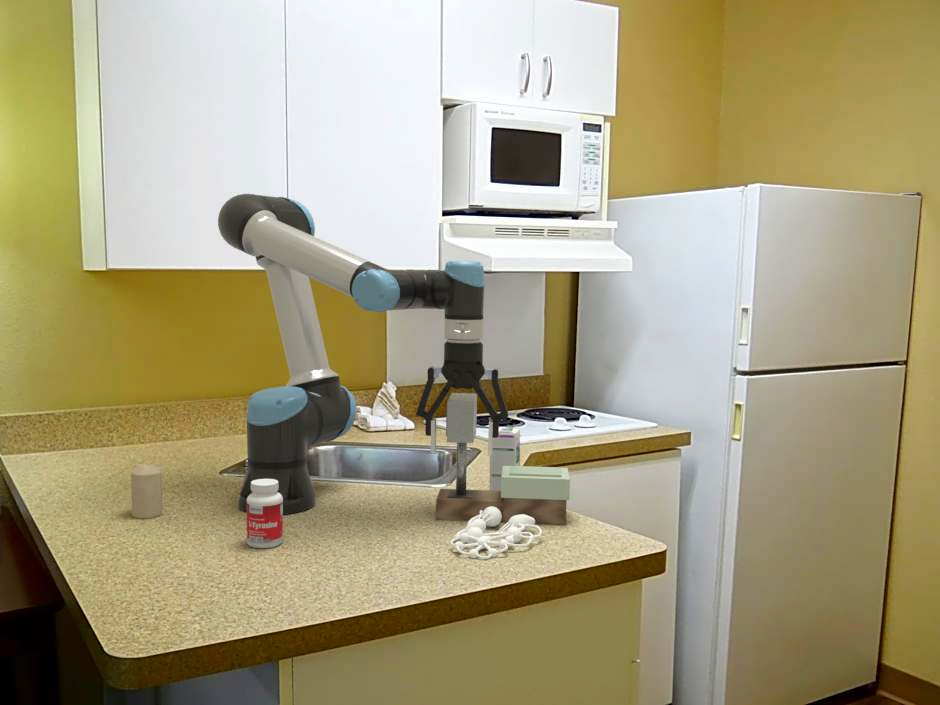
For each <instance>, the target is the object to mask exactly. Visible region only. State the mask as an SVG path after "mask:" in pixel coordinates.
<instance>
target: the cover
mask: <svg viewBox="0 0 940 705" xmlns="http://www.w3.org/2000/svg"><path fill="white" fill-rule="evenodd" d="M568 469H569V468H568V467H560V466H559V467H557V466H555V467H554V466H529V465H527V466H526V465H525V466H524V465H520V466H503V468H502V476H501V498H524V499H552V500H566V501H570V491H571V490H570V487H571V478H570V472H569V470H568Z"/></svg>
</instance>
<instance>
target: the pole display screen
mask: <svg viewBox="0 0 940 705" xmlns="http://www.w3.org/2000/svg"><path fill="white" fill-rule="evenodd" d="M477 405H478V395H477V393H472V392H471V393H468V392H465V393H464V392H462V393H461V392H452V393H451V395H449V397H448V398H447V404H446V412H445V414H446V415H445V416H446V417H445V418H446V419H445V420H446V421H445V423H446V424H445V425H446V426H445V437H446V442H447V443H455V444H456V471H455V472H456V475H455V478H456V480H455V489H456V494H457V495H465V494H466V490H467V471H468V470H467V466H468V464H467V463H468V462H467V461H468V459H467V458H468V444H473V443H474V441H475V439H476V436H477V422H478V421H477V419H478V418H477V416H478V415H477V413H478V412H477V410H478V406H477Z"/></svg>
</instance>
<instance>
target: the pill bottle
mask: <svg viewBox="0 0 940 705" xmlns="http://www.w3.org/2000/svg"><path fill="white" fill-rule="evenodd" d="M278 488H279V485H278V481H277V480H275V479H257V480H253V481H252V482H251V491H252V493H251V494H250V495H249V496H248V497H247V512H246V545H247V546H249V547H250V548H254V549H271V548H275V547H278V546H280V545H281V544H282V543H283V541H284V540H283V539H284V538H283V537H284V536H283V535H284V534H283V533H284V514H283V497H282V495H281V494H280V493H278V492H277V490H278Z"/></svg>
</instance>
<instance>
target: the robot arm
mask: <svg viewBox="0 0 940 705" xmlns="http://www.w3.org/2000/svg"><path fill="white" fill-rule="evenodd" d="M217 226H218V227H217V228H218V231H219V234H220V236H221V237H222V238H223V240H224V242H226V243H227V244H228V245H229V246H230V247H233V248H234V249H236V250H238V251H241V252H243V253H245V254H247V255H249V256H251V257H255V261H256V264H257V265H258V266H259V267H261V268H262V269H264V270H265V272H266V276H267V280H268V285H269V289H270V293H271V299H272V302H273V306H274V312H275V315H276V319H277V323H278V324H277V325H278V328H279V333H280V337H281V342H282V345H283V346H282V347H283V351H284V355H285V359H286V364H287V368H288V372H289V380H288V381H287V383H286V384H285V386H277V387H269V388H265V389H262V390H259V391H256V392H254V393H253V394H251V396H250V397H249V398H248V400H247V407H246V408H247V410H246V411H247V412H246V416H245V418H246V436H247V437H246V439H247V440H246V442H247V443H246V444H247V446H246V448H247V449H246V450H247V470H246V473H245V476H244V479H243V482H242V485H241V488H240V491H239V494H238V506H239V507H238V508H239V509H240V510H241V511H243V512H246V513H247V497H248V496H249V495H250V494H251V493H252V491H251V482H252V481H253V480H257V479H275V480H277V481H278V485H279V488H278V490H277V492H278V493H280V494H281V495H282V497H283V515H288V514H294V513H299V512H303V511H306V510H308V509H311V508H312V507H314V506H315V504H316V491H315V488H314V485H313V482H312V478H311V476H310V473H309V468H308V467H307V466H308V465H307V456H308V455H307V453H308V452H307V449H308V448H307V447H311V446H315V445H319V444H322V443H327V442H332V441H335V440H336V439H338V438H340V437H343V436H344V435H346V434H347V433H348V432H349V431H350V430H351V428H352V426H353V425H354V423H355V421H356V417H357V404H356V399H355V397H354V394H352V393H353V392H351V391H350V390H348V387H345V386H343V385H341V380H340V376H339V373H336V372H335V371H334V370H332V369H331V368H330V365H329V360H328V359H329V358H328V355H327V350H326V348H325V342H324V338H323V332H322V329H321V325H320V321H319V317H318V312H317V307H316V302H315V299H314V294H313V289H312V286H311V285H312V284H311V282H310V279H313V280H314V281H316V282H319V283H321V284H324V285H325V286H327V287H329V288H331V289H334V290H335V291H337V292H340V293H342V294H345V295H346V296H349V297H351V298H353V300H354V302H355V303H356V304H357V306H358V307H359V308H361V309H362V310H364V311H366V312H367V311H368V312H374V313H375V312H376V313H382V312H387V311H399V310H400V311H401V310H415V309H423V310H424V309H425V310H427V309H431V310H435V309H436V310H444V335H443V336H444V339H445V340H446V341H445V343H443V364H442V367H434V366H430V367H429V368H428V369H427V381H426V384H425V386H424V389H423V392H422V395H421V398H420V401H419V403H418V407H417V409H416V412H415V413H416V416H417V417H421V418H423V419H424V420H425V423H424V424H425V427H424V428H425V429H424V430H425V435H426V436H427V437H428V436H429V437H430V454H433V455H434V454H436V452H437V417H436V418H435V417H433V416H434V415H435V414H436V412H437V410H438V408H439V407H440V406H441V404H442V402H443V401H444V400H445V398H446V397H447V395H448V393H449V392H450V390H451V388H452V389H454V390H461V389H464V390H471V389H473V391H474V392H475V394H477V397H478V398H479V400H480V401H481V403H482V405H483V406H484V408H485V411H486V412H487V413H488V415H489V416H490V418H491V419H489V421H488V439H487V440H488V442H487V444H488V446H487V456H490V455H492V453H493V438H497V437H498V435H499V427H500V421H502V420H506V419H508V418H509V411H508V408H507V405H506V401H505V399H504V394H503V392H502V389H501V386H500V382H499V369H498V368H497V367H494V368H485V366H484V363H483V356H484V355H483V354H484V353H483V352H484V344H483V343H482V342H481V341H482V340H483V338H484V301H485V300H484V298H485V296H484V295H485V294H484V293H485V285H486V283H485V273H484V271H485V270H484V269H485V268H484V265H483V264H482V262H480V261H475V260H473V261H472V260H471V261H470V260H469V261H468V260H448V261H447V262H446V263H445V266H444V270H423V269H422V270H421V269H420V270H418V269H417V270H415V269H404V270H403V269H400V270H399V269H387V268H385V267H384V266H380V265H379V264H376V263H373V262H372V261H369V260H367V259H365V258H363V257H360V256H359V255H357V254H354V253H351V252H349V251H348V250H345V249H343V248H340V247H338V246H336V245H334V244H331V243H329V242H327V241H325V240H323V239H320V238H318V237H316V236H315V232H316V230H315V229H316V228H315V227H316V226H315V221H314V218H313V216H312V213H311V212H310V210H309V209H308V208H307V207H306V206H305V205H304V204H302V203H301V202H300V201H297V200H295V199H290V198H288V197H284V196H277V197H276V196H271V195H270V196H267V195H263V194H261V195H260V194H253V193H242V194H237V195H235V196H232V197H230V199H228V200H226V202H225V203H224V204H223V205H222V206H221V208H220V211H219V213H218V217H217ZM440 374H442V376H443V377H444V378H445V380H446V383H445V385H444V387H443V389H441V392H440V393H439V394H438V396H437V397H436V399H435V400H434V402H433V403H432V405H431V407H430V408H429V409H428V410H426V407H427V404H428V402H429V398H430V395H431V393H432V390H433V387H434V383H435V380H436V379H438V378H439V376H440ZM484 375H486V377H487V379H488V380H489V381H491V386H492V388H493V393H494V396H495V398H496V402H497V405H498V408H499V411H500V412H497V410H496V409H495V407H494V405H493V403H492V402H491V400H490V398H489V397H488V395H487V393H486V391H485V390H484V388H483V386H482V384H481V383H480V380H481V379H482V378H483V377H484Z"/></svg>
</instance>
